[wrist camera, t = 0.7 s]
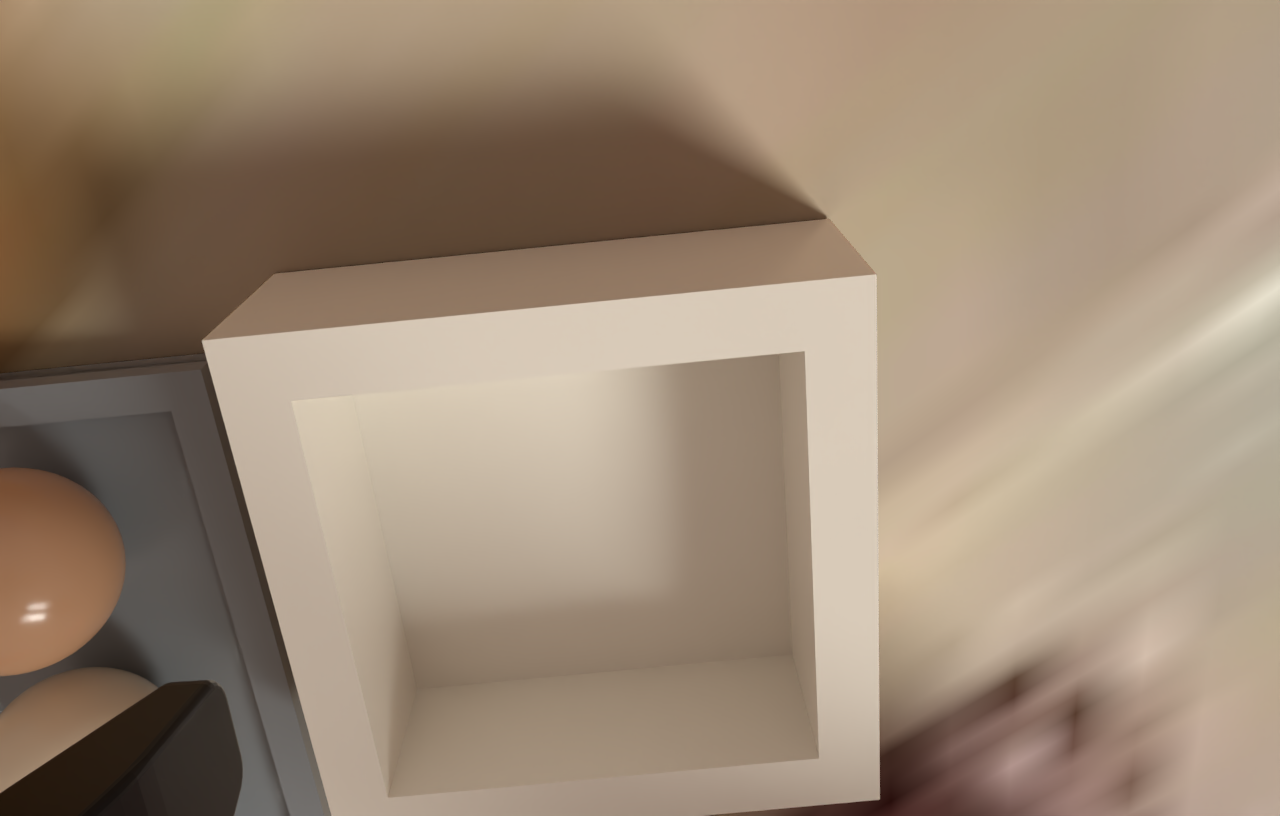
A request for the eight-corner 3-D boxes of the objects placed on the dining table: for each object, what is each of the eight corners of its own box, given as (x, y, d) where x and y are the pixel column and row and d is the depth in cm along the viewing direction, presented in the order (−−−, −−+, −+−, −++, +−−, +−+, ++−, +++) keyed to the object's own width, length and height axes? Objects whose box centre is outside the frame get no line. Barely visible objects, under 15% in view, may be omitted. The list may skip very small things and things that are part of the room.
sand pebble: (233, 763, 25) (167, 901, 21) (66, 778, 25) (-29, 919, 21) (189, 622, 23) (109, 745, 20) (11, 638, 23) (-102, 764, 20)
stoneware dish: (840, 676, 25) (879, 799, 21) (380, 718, 25) (340, 848, 21) (828, 218, 21) (877, 273, 17) (274, 273, 21) (201, 340, 17)
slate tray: (370, 921, 28) (362, 954, 27) (70, 948, 28) (52, 982, 27) (218, 352, 21) (200, 369, 20) (-169, 389, 21) (-204, 409, 21)
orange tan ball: (179, 591, 23) (97, 710, 19) (-1, 608, 23) (-117, 730, 19) (127, 424, 21) (27, 521, 18) (-66, 443, 21) (-206, 543, 18)
